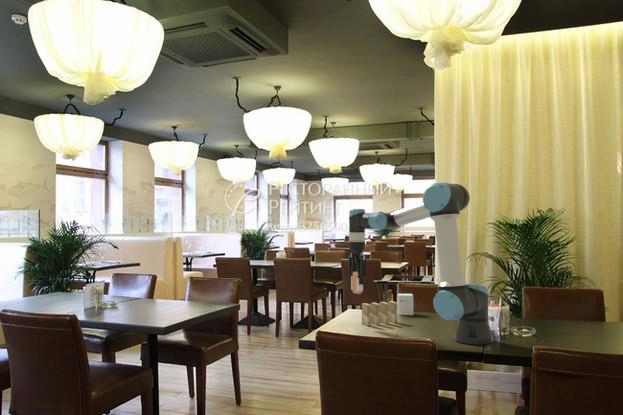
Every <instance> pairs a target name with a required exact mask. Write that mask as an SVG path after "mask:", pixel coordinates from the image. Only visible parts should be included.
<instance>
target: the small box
mask: <svg viewBox="0 0 623 415" xmlns="http://www.w3.org/2000/svg"><path fill="white" fill-rule="evenodd" d="M414 314H415V313H414V295H413V293H397V316H414Z"/></svg>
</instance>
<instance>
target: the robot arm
mask: <svg viewBox="0 0 623 415" xmlns="http://www.w3.org/2000/svg"><path fill="white" fill-rule="evenodd" d="M423 192H424V193H423V195H422V201H421V202H418V203H415V204H412V205H410V206H406V207H404V208H401V209H397V210H394V211H391V212H366V210H365V209H364V208H351V209H349V213H348V214H349V216H348V224H349V225H348V226H349V227H348V230H349V231H348V240H349V241H348V242H349V243H348V248H349V249H348V250H349V251H350V250H351V252H350V253H348V254H347V256H348V275H350V284H351V285H350V289H351V291H353V272H354V271H357V272H358V276H357V292H360V291H362V292H364V277H366V275H367V258H368V256H367V255H366V254H364V252H363V251H364V250H365V249H366V242H365V241H366V233H365V232H366V230H374V231H376V230H379V231H380V230H395V229H396V230H397V229H401V228H402V226H405V225H408V224H412V223H415V222H418V221H422V220H425V219H428V218H430V219H431V220H433V222H434V229H435V238H436V248H437V249H436V250H437V257H438V259H437V260H438V268H439V276H440V277H439V278H440V281H439V283H438V284H437V285H436V287H437V293H435V295H434V297H433V299H432V300H433V302H432V304H433V307H434V308H433V309H434V310H435V312H436V314H437V315H439V316H440V317H441V318H442V319H443V320H447V321H457V320H458V321H457V326H456V328H455V332H454V338H453V339H454V341H455V342H458V343H461V344H465V345H466V344H468V345H479V346H481V345H490V344H493V342H494V335H493V333H492V330H491V327H490V324H489V288H488V286H486V285H482V284H481V285H480V284H473V283H472V284H471V283H468V282H466V281H465V280H464V276H463V266H462V258H461V257H462V256H461V250H460V241H459V232H458V223H457V219H458V218H459V216H460V215H461V214H460V212H462V211H463V210H465V209H466V208H467V207H468V206H469V203H470V199H471V197H470V196H471V195H470V193H469V191H468V189H467V188H466V187H465V186H463V185H462V184H458V183H450V182H449V183H448V182H435V183H432V184H430V185H429V186H428V187H426V189H425V191H423Z"/></svg>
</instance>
